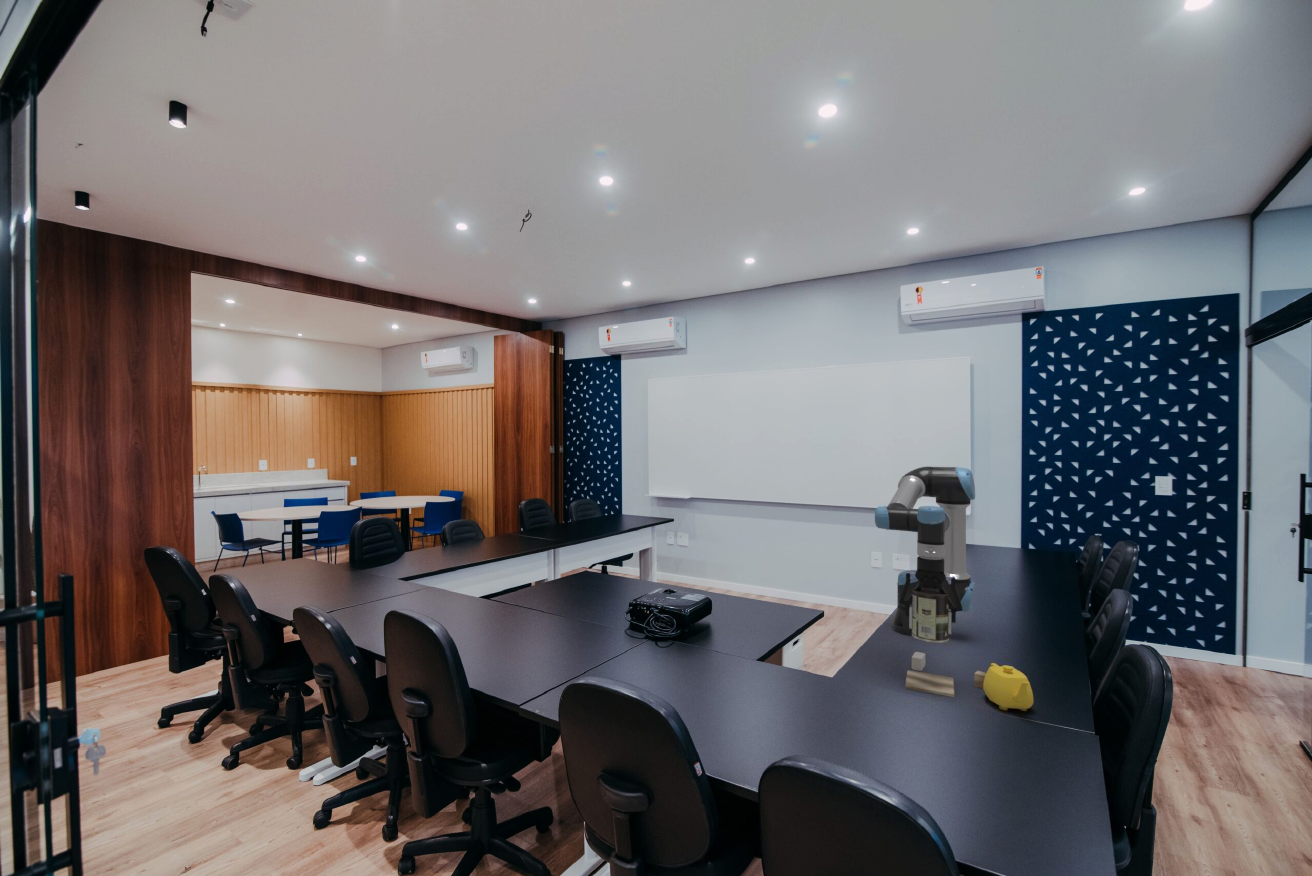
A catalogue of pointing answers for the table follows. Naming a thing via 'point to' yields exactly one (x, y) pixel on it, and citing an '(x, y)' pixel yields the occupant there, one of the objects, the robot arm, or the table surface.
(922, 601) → the coffee can
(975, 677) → the beech brick
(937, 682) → the trivet
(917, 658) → the off-white brick
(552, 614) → the table surface
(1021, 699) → the teapot
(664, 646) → the table surface
